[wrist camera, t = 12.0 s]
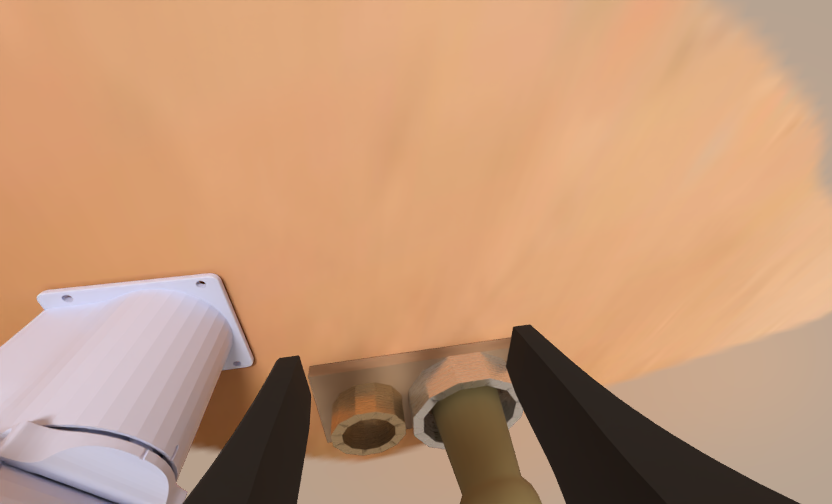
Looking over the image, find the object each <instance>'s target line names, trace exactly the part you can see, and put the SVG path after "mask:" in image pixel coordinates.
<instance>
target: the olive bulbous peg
mask: <svg viewBox="0 0 832 504" xmlns="http://www.w3.org/2000/svg"><path fill="white" fill-rule="evenodd" d="M431 411H432V414H433V416H434V419H435V422H436V425H437V427H438V430H439V433H440V435H441V438H442V441H443V444H444V446H445V449H446V452H447V455H448V457H449V460H450V463H451V465H452V468H453V471H454V474H455V476H456V479H457V482H458V484H459V487H460V490H461V493H462V498H461V502H460V504H542V503H541V501H540V498H539V496H538V494H537V492H536V491H535V489H534V488H533V486H532V485H531V484H530V483H529V482H528V481H527V480H525V479H524V478H523V477H522V476H521V473H520V470H519V466H518V462H517V459H516V455H515V451H514V448H513V445H512V441H511V437H510V433H509V430H508V426H507V422H506V419H505V415H504V411H503V408H502V404H501V401H500V397H499V393H498V390H497V388H494V387H490V386H482V387H476V388H469V389H463V390H459V391H457V392H455V393H453V394H452V395H450V396H448V397H446V398H444V399H442V400H440V401H438V402H437V403H436V404H435V405H434V406H433V407H432V409H431Z"/></svg>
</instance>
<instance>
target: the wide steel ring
mask: <svg viewBox="0 0 832 504" xmlns="http://www.w3.org/2000/svg"><path fill="white" fill-rule="evenodd" d="M482 386H490V387H494V388H499V389H502V390H501V391H500V392H499V397H500V401H501V404H502V408H503V411H504V415H505V419H506V422H507V426H508V429H509V428H510V427H511V426H512V425H514V424H515V423H516V422H517V421H518V420H519V419H520V418H521V417H522V413H523V408H522V406H521V404H520V402H519V400H518V398H517V396H516V393H515V391H514V388H513V385H512V383H511V380H510V377H509V374H508V371H507V368H506V362H505V361H504V359H503V358H500V357H496V356H493V355H489V354H485V353H482V352H474V353H468V354H461V355H454V356H449V357H447V358H445V359H443V360H441V361H440V362H438V363H436V364H434V365H432V366H430V367H428V368H427V369H425V370H423V371H422V372H421V374H420V375H419V376H418V378H417V379H416V380H415V382H414V383H413V384H412V386H411V387H410V388H409V406H410V413H411V419H412V425H413V432H414V436H415V437H416V438H418V439H419V440H420V441H422V442H423V443H424V444H426V445H427V446H428V447H432V448H440V449H445V446H444V444H443V441H442V438H441V435H440V433H439V430H438V427H437V425H436V422H435V419H434V416H433V414H429V413H428V412H429V411H430V410H431V409H432V407H433V406H434V405H435V404H436V403H437V402H438V401H440V400H442V399H444V398H446V397H448V396H450V395H452V394H453V393H455V392H457V391H459V390H463V389H469V388H476V387H482Z"/></svg>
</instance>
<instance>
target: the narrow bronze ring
mask: <svg viewBox="0 0 832 504" xmlns="http://www.w3.org/2000/svg"><path fill="white" fill-rule="evenodd" d="M405 434H406V428H405V418H404V411H403V403H402V396H401V394H400V393H399V392H398V391H397V390H396V389H395V388H393V387H392V386H391V385H386V384H381V383H376V382H372V383H365V384H359V385H354V386H352V387H351V388H349V389H347V390H345V391H343V392H342V393H340V394H339V395H338V397H337V398H336V400H335V402H334V403H333V405H332V420H331V439H332V442H333V446H334V447H335V448H337V449H339V450H341V451H342V452H344V453H346V454H354V455H369V454H375V453H380V452H383V451H385V450H387V449H389V448H391V447H393V446H395V445H397V444H398V443H399V442H400V440H401V439H402V438H403V437H404V436H405Z"/></svg>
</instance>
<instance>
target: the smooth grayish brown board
mask: <svg viewBox="0 0 832 504" xmlns="http://www.w3.org/2000/svg"><path fill="white" fill-rule="evenodd" d="M510 342H511V338H505V339H498V340H491V341H484V342H477V343H470V344H463V345H456V346H449V347H442V348H435V349H428V350H421V351H414V352H407V353H400V354H393V355H386V356H379V357H372V358H365V359H358V360H351V361H344V362H337V363H330V364H323V365H316V366H310V367H309V375H308V379H309V382H310V385H311V389H312V392H313V395H314V399H315V402H316V405H317V409H318V412H319V415H320V419H321V422H322V425H323V429H324V432H325V435H326V439H327V442H328V443H329V442H332V439H331V420H332V405H333V403H334V402H335V400H336V398H337V397H338V395H339V394H340V393H342V392H343V391H345V390H347V389H349V388H351V387H352V386H354V385H359V384H365V383H372V382H376V383H381V384H386V385H391V386H392V387H393V388H395V389H396V390H397V391H398V392H399V393H400V394H401V396H402V403H403V411H404V418H405V428H406V429H410V428H413V425H412V419H411V413H410V406H409V388H410V387H411V386H412V384H413V383H414V382H415V380H416V379H417V378H418V376H419V375H420V374H421V372H422V371H423V370H425V369H427V368H428V367H430V366H432V365H434V364H436V363H438V362H440V361H441V360H443V359H445V358H447V357H449V356H454V355H461V354H468V353H474V352H482V353H485V354H489V355H493V356H496V357H500V358H503V359H504V361H505V362H507V357H508V352H509V347H510ZM497 390H498V393H499V392H500V391H501V390H502V389H499V388H497ZM428 413H429V414H432V411H431V410H430V411H429V412H428Z"/></svg>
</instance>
